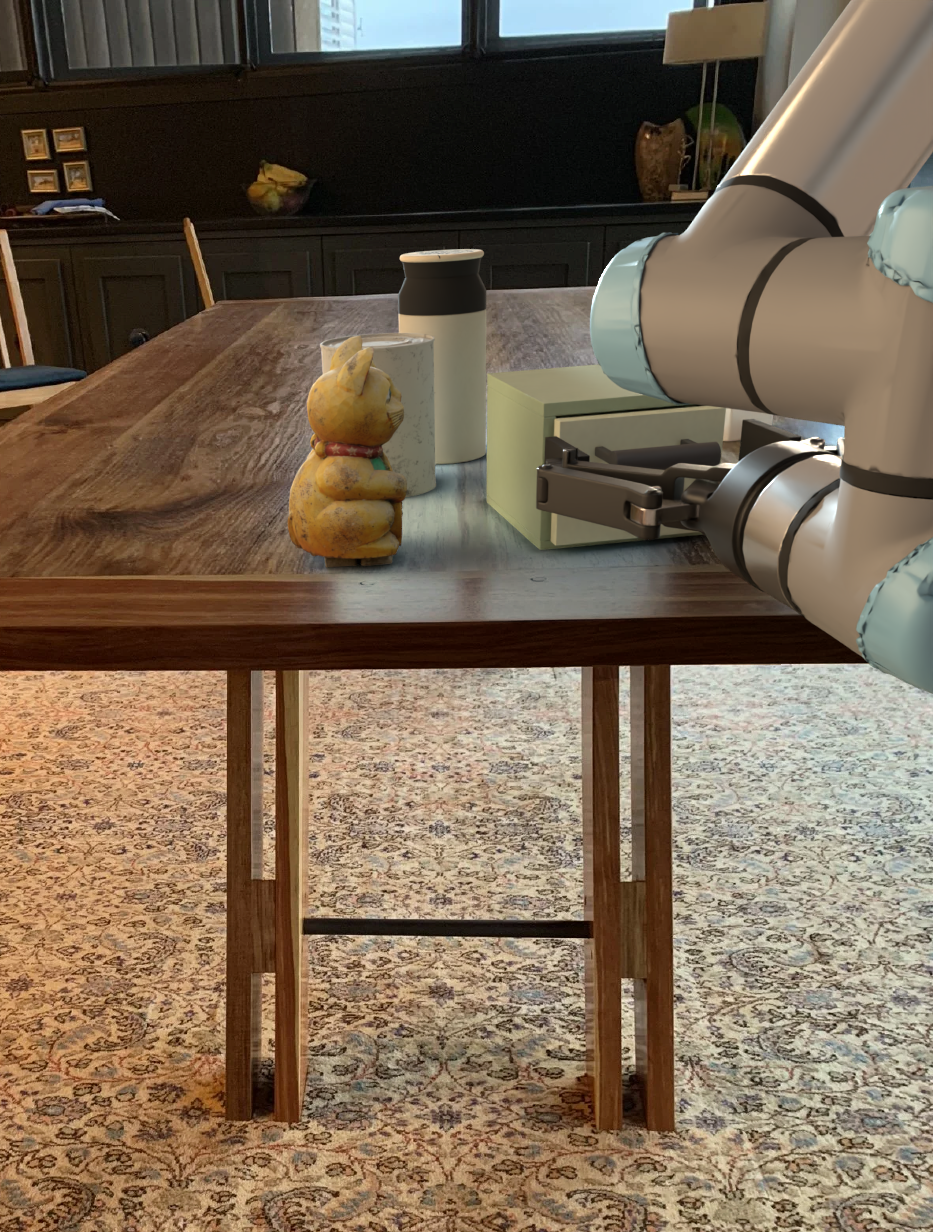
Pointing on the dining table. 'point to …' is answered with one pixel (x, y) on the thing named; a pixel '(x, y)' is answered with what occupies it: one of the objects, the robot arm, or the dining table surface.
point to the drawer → (638, 452)
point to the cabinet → (542, 436)
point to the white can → (405, 401)
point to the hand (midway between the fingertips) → (648, 448)
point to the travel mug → (451, 344)
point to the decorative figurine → (350, 465)
